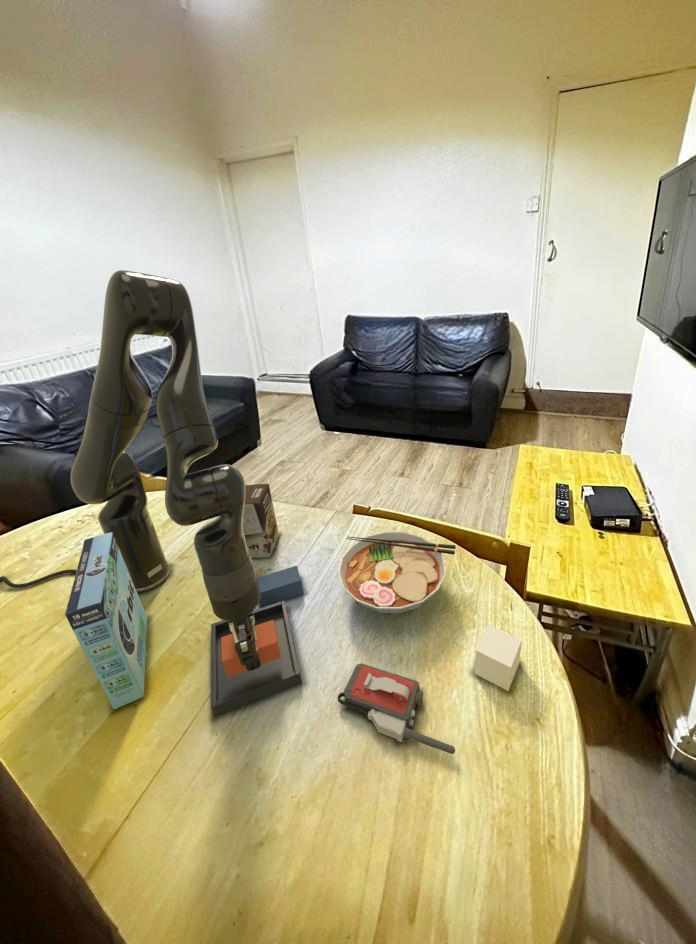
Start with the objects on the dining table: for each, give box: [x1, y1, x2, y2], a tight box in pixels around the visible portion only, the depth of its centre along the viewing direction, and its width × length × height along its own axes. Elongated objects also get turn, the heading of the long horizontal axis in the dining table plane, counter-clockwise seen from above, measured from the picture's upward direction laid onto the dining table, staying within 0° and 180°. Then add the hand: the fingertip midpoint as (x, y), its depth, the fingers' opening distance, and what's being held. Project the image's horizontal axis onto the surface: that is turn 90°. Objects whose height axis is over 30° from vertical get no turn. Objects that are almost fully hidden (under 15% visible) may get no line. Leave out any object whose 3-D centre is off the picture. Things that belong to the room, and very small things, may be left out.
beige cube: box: [474, 624, 523, 692], centre depth 72 cm, size 6×6×6 cm
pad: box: [221, 620, 281, 677], centre depth 72 cm, size 9×5×4 cm, turn 111°
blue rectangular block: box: [257, 565, 305, 608], centre depth 91 cm, size 9×5×4 cm, turn 111°
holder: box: [210, 600, 303, 718], centre depth 77 cm, size 15×18×3 cm
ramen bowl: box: [337, 531, 457, 614], centre depth 89 cm, size 25×23×8 cm
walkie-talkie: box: [337, 662, 456, 755], centre depth 66 cm, size 9×4×20 cm
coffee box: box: [243, 483, 280, 559], centre depth 103 cm, size 9×6×16 cm
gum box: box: [64, 532, 148, 711], centre depth 74 cm, size 20×5×23 cm, turn 26°
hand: (252, 653), depth 72 cm, fingers closed on pad, 5 cm apart
